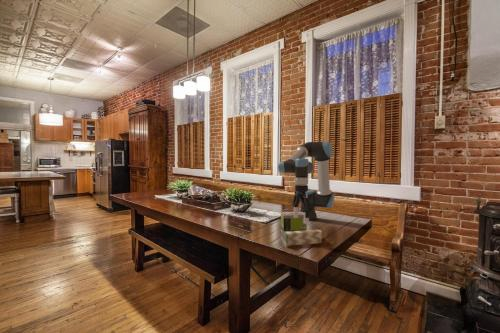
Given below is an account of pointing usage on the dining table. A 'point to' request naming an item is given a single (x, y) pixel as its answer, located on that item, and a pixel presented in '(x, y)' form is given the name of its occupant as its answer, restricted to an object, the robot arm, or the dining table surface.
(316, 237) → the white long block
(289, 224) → the tea box
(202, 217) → the dining table surface
